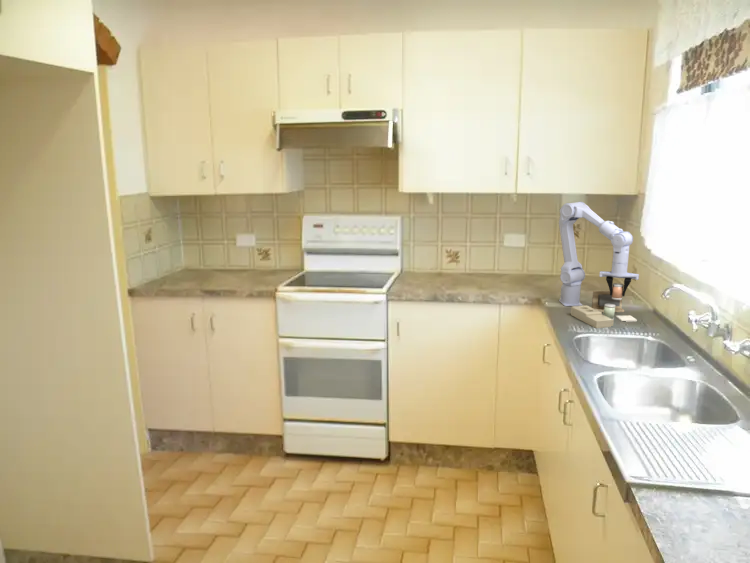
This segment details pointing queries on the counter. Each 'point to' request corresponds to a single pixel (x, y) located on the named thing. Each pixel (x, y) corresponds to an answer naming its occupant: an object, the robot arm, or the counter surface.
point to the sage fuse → (609, 310)
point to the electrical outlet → (591, 316)
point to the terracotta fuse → (617, 291)
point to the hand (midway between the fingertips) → (617, 295)
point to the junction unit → (605, 301)
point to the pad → (626, 318)
